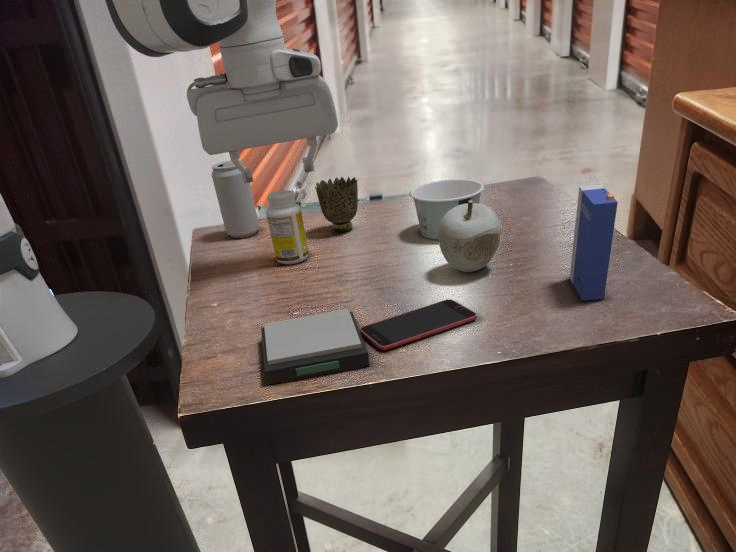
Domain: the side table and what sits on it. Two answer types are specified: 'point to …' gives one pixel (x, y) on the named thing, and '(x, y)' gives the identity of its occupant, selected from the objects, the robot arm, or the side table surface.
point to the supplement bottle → (286, 228)
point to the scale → (312, 346)
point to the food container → (442, 201)
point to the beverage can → (235, 200)
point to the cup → (338, 202)
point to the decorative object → (469, 236)
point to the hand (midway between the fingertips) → (279, 176)
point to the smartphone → (417, 324)
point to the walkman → (592, 241)
